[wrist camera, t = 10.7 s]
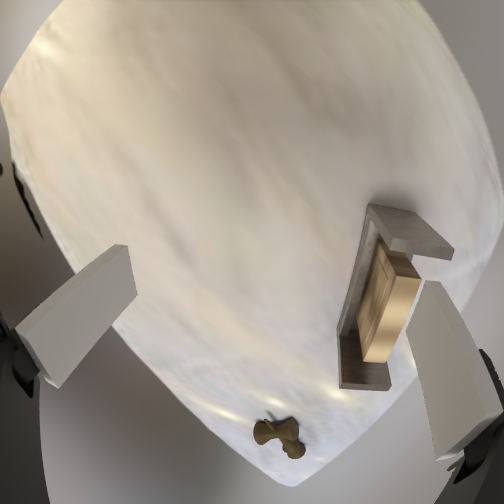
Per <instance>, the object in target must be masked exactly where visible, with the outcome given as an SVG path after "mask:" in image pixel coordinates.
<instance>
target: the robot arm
mask: <svg viewBox="0 0 504 504" xmlns="http://www.w3.org/2000/svg"><path fill="white" fill-rule="evenodd" d="M137 295H138V294H137V290H136V286H135V281H134V276H133V272H132V267H131V262H130V257H129V251H128V246H126V245H118V244H115V245H113V246H112V247H111V248H109V249H108V250H107V251H105V252H104V253H103V254H101V255H100V256H99V257H97V258H96V259H95V260H94V261H92V262H91V263H90V264H88V265H87V266H86V267H85V268H83V269H82V270H81V271H79V272H78V273H77V274H76V275H74V276H73V277H72V278H71V279H70V280H68V281H67V282H66V283H65V284H64V285H62V286H61V287H60V288H59V289H58V290H56V291H55V292H54V293H53V294H51V295H49V296H48V297H47V298H46V299H45V300H44V301H42V302H41V304H39V305H38V306H37V307H36V308H35V310H32V311H31V312H30V313H29V314H28V315H27V316H26V317H24V318H23V319H22V320H21V321H20V322H19V323H18V324H17V325H16V326H15V327H14V328H13V329H12V330H9V328H8V326H7V324H6V322H5V320H4V318H3V316H2V314H1V312H0V504H50V501H49V497H48V492H47V487H46V481H45V476H44V468H43V461H42V451H41V440H40V420H39V391H40V380H39V377H38V376H37V374H38V373H39V372H41V373H42V375H43V376H44V377H45V379H46V381H47V382H49V383H50V384H52V385H53V386H55V387H57V388H58V389H59V388H60V387H61V385H62V384H63V382H64V381H65V380H66V379H67V377H68V376H69V375H70V374H71V372H72V371H73V370H74V369H75V367H76V366H77V365H78V364H79V363H80V361H81V360H82V359H83V358H84V356H85V355H86V354H87V353H88V351H89V350H90V349H91V348H92V347H93V346H94V344H95V343H96V342H97V341H98V340H99V338H100V337H101V336H102V335H103V334H104V333H105V331H106V330H107V329H108V328H109V327H110V326H111V324H112V323H113V322H114V321H115V320H116V319H117V318H118V316H119V315H120V314H121V313H122V312H123V311H124V310H125V308H126V307H127V306H128V305H129V304H130V303H131V302H132V301H133V299H134V298H135V297H136V296H137ZM406 334H407V337H408V340H409V343H410V346H411V350H412V353H413V357H414V360H415V364H416V367H417V371H418V375H419V379H420V382H421V386H422V390H423V395H424V399H425V404H426V408H427V413H428V418H429V423H430V429H431V434H432V440H433V447H434V454H435V460H436V461H437V460H442V459H446V458H450V457H454V456H455V455H456V454H457V453H459V452H460V451H461V450H462V449H464V454H465V455H464V456H463V457H462V458H460V459H459V460H458V461H456V462H455V463H454V464H452V465H451V466H450V467H449V468H448V469H447V471H450V470H452V469H453V468H454V467H456V468H455V470H454V471H453V472H452V475H451V477H450V479H449V481H448V482H447V484H446V486H445V487H444V489H443V491H442V492H441V494H440V495H439V497H438V499H437V500H436V502H435V503H434V504H504V389H503V386H502V384H501V381H500V380H499V377H498V375H497V372H496V371H495V368H494V366H493V364H492V361H491V359H490V358H489V357H488V355H487V354H486V353H485V352H484V351H483V350H482V349H478V348H477V346H476V344H475V342H474V340H473V338H472V336H471V334H470V332H469V331H468V328H467V327H466V325H465V323H464V321H463V319H462V317H461V316H460V314H459V312H458V310H457V309H456V307H455V305H454V304H453V302H452V300H451V298H450V297H449V295H448V294H447V292H446V290H445V289H444V287H443V286H442V284H441V282H437V281H427V280H426V281H425V284H424V286H423V289H422V292H421V295H420V297H419V300H418V303H417V305H416V308H415V310H414V313H413V315H412V317H411V320H410V322H409V325H408V327H407V329H406Z"/></svg>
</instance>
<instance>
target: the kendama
mask: <svg viewBox="0 0 504 504" xmlns="http://www.w3.org/2000/svg"><path fill="white" fill-rule="evenodd" d="M264 421H265V423H266V424H264V423H262V422H257V423H256V424H255V426H254V431H253V434H254V439H255V441H256V442H257V443H258V444H259V445H263V444H265V443H266V442H268V441H269V440H270V439H274V438H279V439H280V441H281V442H282V444H283V451H284V452H286V453H287V455H288V457H289V458H291V459H298V458H301V457H302V456H303V455H304V454H305V451H306V448H305V446H304V444H301V443H299V441H298V440H297V438H298V436H299V427H298V424H297V422H296V420H295V419H294V418H291V419H289V420H287V421H286V422H284V423H283V424H281V425H276V426H273V425H272V424H271V423H270V422H269V421H268V420H267V419H264Z"/></svg>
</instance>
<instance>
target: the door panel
mask: <svg viewBox="0 0 504 504" xmlns="http://www.w3.org/2000/svg"><path fill="white" fill-rule="evenodd" d="M421 280H422V279H421V278H420V276H419V274H418V273H417V271H416V270H415V268H414V267H413V265H412V263H411V262H410V260H409V259H408V257H407V256H406V254H405V253H404V252H398V251H392V250H389V248H388V246H387V245H386V243H385V241H384V240H381V239H377V241H376V245H375V249H374V253H373V257H372V261H371V264H370V268H369V272H368V275H367V279H366V282H365V286H364V289H363V292H362V296H361V299H360V302H359V305H358V308H357V312H356V317H357V323H358V329H359V335H360V342H361V348H362V355H363V361H364V362H378V363H385V362H386V360H387V359H388V357H389V355H390V353H391V351H392V349H393V347H394V344H395V342H396V340H397V338H398V336H399V334H400V332H401V330H402V327H403V325H404V323H405V321H406V318H407V316H408V314H409V311H410V309H411V306H412V304H413V301H414V299H415V296H416V294H417V291H418V288H419V286H420V283H421Z"/></svg>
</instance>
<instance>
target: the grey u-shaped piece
mask: <svg viewBox="0 0 504 504" xmlns="http://www.w3.org/2000/svg"><path fill="white" fill-rule="evenodd" d="M377 239H381V240H384V241H385V243H386V245H387V246H388V248H389V250H392V251H398V252H404V253H405V254H406V256H407V257H408V259H409V260H410V262H411V260H412V257H413V254H416V255H422V256H427V257H433V258H439V259H444V260H450V261H451V259H452V256H453V253H454V250H455V249H454V248H453V247H452V246H451V245H450V244H449V243H448V242H447V241H446V240H445V239H444V238H443V237H442V236H440V235H439V234H438V233H437V232H436V231H435V230H434V229H433V228H432V227H431V226H430V225H429V224H427V223H426V222H425V221H424V220H423V219H422V218H421V217H420V216H418V215H417V214H416V213H413V212H408V211H403V210H398V209H393V208H388V207H383V206H378V205H372V204H368V206H367V212H366V217H365V222H364V227H363V232H362V236H361V241H360V245H359V250H358V254H357V258H356V262H355V266H354V270H353V274H352V278H351V282H350V286H349V289H348V293H347V297H346V300H345V304H344V307H343V311H342V314H341V317H340V321H339V324H338V327H337V346H338V368H339V388H340V389H354V390H372V391H388V390H389V389H390V387H391V386H392V385H391V379H390V374H389V369H388V365H387V360H386V362H385V363H378V362H364V361H363V355H362V348H361V342H360V335H359V329H358V323H357V317H356V312H357V308H358V305H359V302H360V299H361V296H362V292H363V289H364V286H365V282H366V279H367V275H368V272H369V268H370V264H371V261H372V257H373V253H374V249H375V245H376V241H377Z"/></svg>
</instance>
